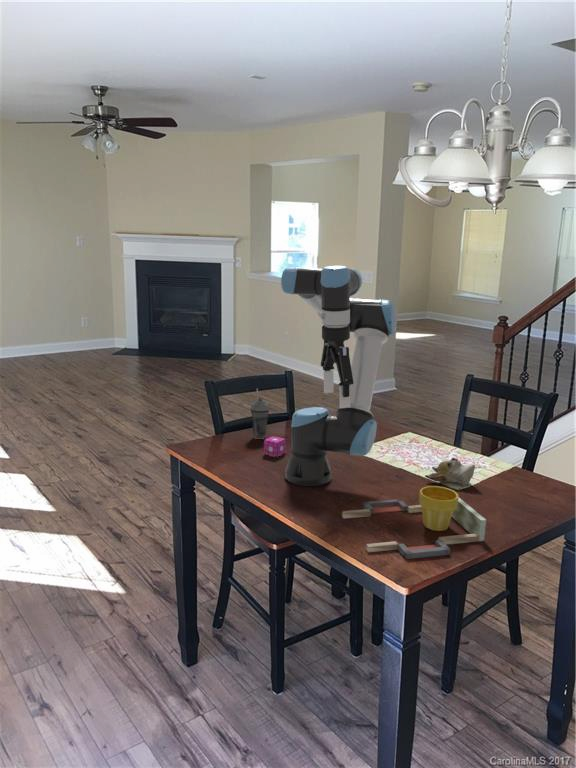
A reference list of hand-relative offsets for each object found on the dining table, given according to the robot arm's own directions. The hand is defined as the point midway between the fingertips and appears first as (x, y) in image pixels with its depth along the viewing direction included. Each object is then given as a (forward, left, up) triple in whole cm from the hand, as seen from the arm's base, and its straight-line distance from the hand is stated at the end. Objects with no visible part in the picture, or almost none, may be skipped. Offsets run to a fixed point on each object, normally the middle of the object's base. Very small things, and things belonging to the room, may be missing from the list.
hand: (336, 399), depth 172 cm
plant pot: (+15, +26, -33) cm, 45 cm away
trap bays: (+15, +16, -33) cm, 40 cm away
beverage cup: (-68, -8, -33) cm, 76 cm away
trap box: (+15, +18, -33) cm, 40 cm away
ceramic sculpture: (-14, +45, -33) cm, 58 cm away
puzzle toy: (-49, -6, -33) cm, 59 cm away
